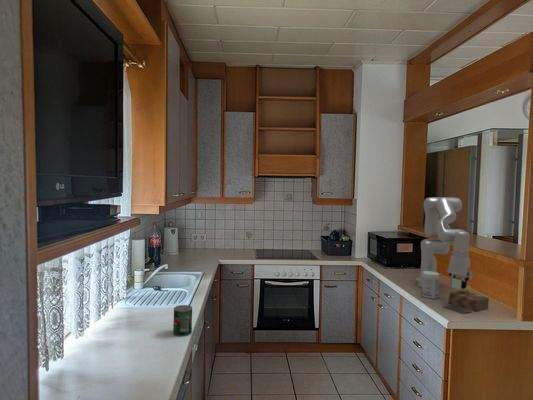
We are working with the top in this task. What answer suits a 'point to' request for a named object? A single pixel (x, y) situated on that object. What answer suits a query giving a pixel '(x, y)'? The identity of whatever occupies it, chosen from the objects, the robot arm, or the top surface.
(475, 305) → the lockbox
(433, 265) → the robot arm
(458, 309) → the mat
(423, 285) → the supplement tub
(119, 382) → the top surface
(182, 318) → the canned tomato
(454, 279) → the cover
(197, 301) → the top surface
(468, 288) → the t bolt
